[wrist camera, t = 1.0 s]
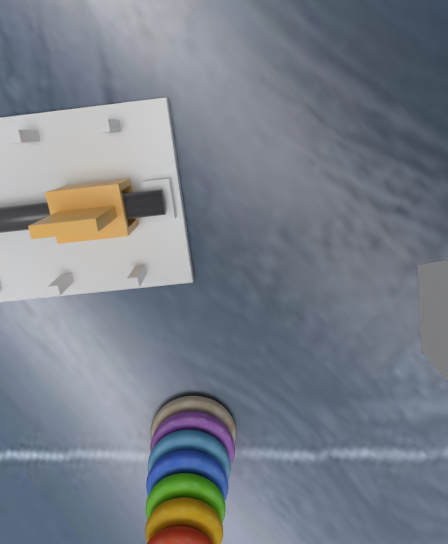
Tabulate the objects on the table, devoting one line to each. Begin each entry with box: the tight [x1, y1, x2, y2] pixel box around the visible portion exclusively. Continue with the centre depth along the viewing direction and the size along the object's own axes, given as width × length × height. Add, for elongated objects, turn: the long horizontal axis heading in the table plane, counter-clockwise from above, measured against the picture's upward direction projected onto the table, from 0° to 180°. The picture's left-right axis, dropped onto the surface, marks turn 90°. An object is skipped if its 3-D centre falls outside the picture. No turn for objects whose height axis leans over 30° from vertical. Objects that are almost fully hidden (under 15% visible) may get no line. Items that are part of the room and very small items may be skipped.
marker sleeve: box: [28, 178, 138, 244], centre depth 28 cm, size 5×4×8 cm
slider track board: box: [0, 98, 194, 302], centre depth 31 cm, size 26×14×6 cm, turn 96°
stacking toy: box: [145, 396, 236, 544], centre depth 31 cm, size 8×8×19 cm
